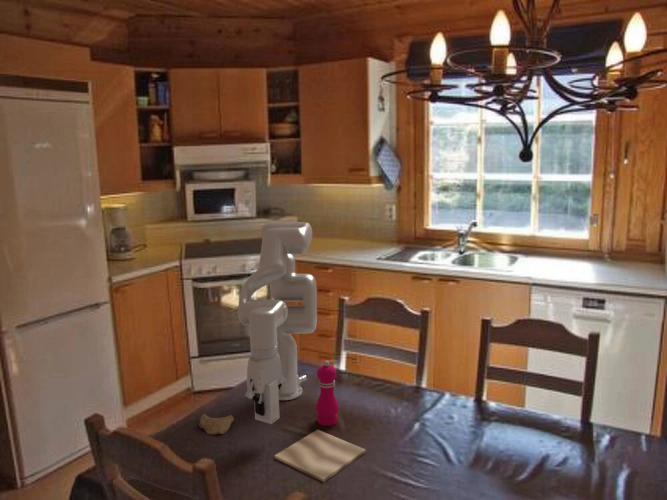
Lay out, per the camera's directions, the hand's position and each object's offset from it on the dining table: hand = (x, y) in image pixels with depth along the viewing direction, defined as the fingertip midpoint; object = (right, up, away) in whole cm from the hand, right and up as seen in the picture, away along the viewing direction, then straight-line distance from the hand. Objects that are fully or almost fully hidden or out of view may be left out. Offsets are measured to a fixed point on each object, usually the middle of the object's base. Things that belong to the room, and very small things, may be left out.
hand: (266, 409), depth 158 cm
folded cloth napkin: (+16, -11, -5) cm, 20 cm away
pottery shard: (-17, -9, +12) cm, 23 cm away
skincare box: (0, -3, +1) cm, 3 cm away
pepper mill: (+17, -8, +14) cm, 23 cm away
